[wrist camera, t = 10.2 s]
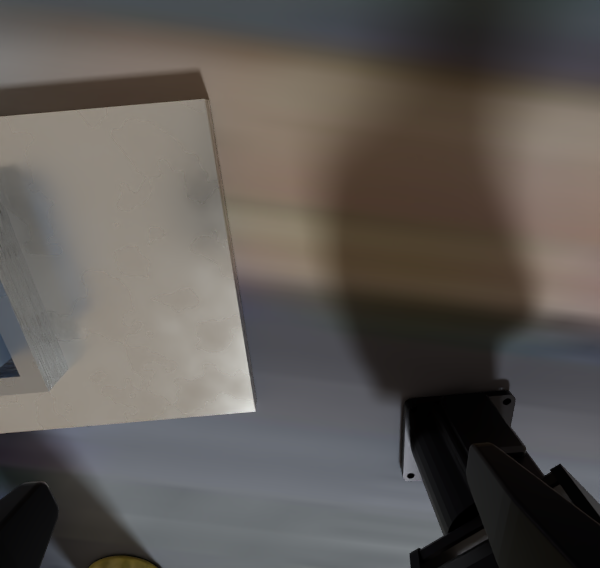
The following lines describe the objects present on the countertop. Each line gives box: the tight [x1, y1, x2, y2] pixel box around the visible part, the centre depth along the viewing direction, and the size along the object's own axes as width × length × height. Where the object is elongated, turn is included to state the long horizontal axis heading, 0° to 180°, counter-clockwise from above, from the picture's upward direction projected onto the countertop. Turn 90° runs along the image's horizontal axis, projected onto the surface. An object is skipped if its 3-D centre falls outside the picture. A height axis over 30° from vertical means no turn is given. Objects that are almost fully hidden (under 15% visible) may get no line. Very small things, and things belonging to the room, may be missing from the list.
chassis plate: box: [0, 99, 257, 434], centre depth 18 cm, size 16×20×3 cm
